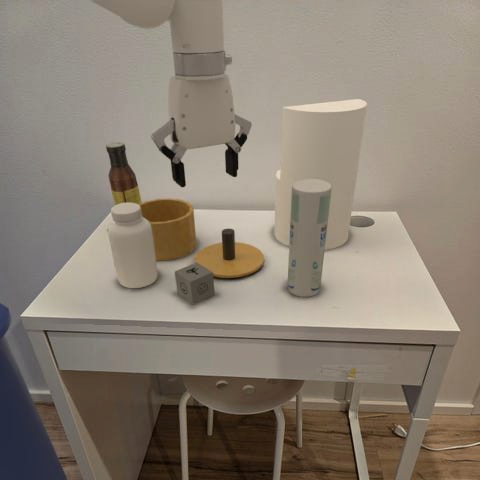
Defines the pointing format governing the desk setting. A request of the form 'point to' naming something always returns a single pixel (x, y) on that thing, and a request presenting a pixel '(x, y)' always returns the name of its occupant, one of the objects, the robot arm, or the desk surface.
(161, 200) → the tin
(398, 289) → the desk surface
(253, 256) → the tan wooden disc
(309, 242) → the spray can
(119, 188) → the sauce bottle
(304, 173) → the cylinder
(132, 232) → the pill bottle
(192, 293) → the dice cube
